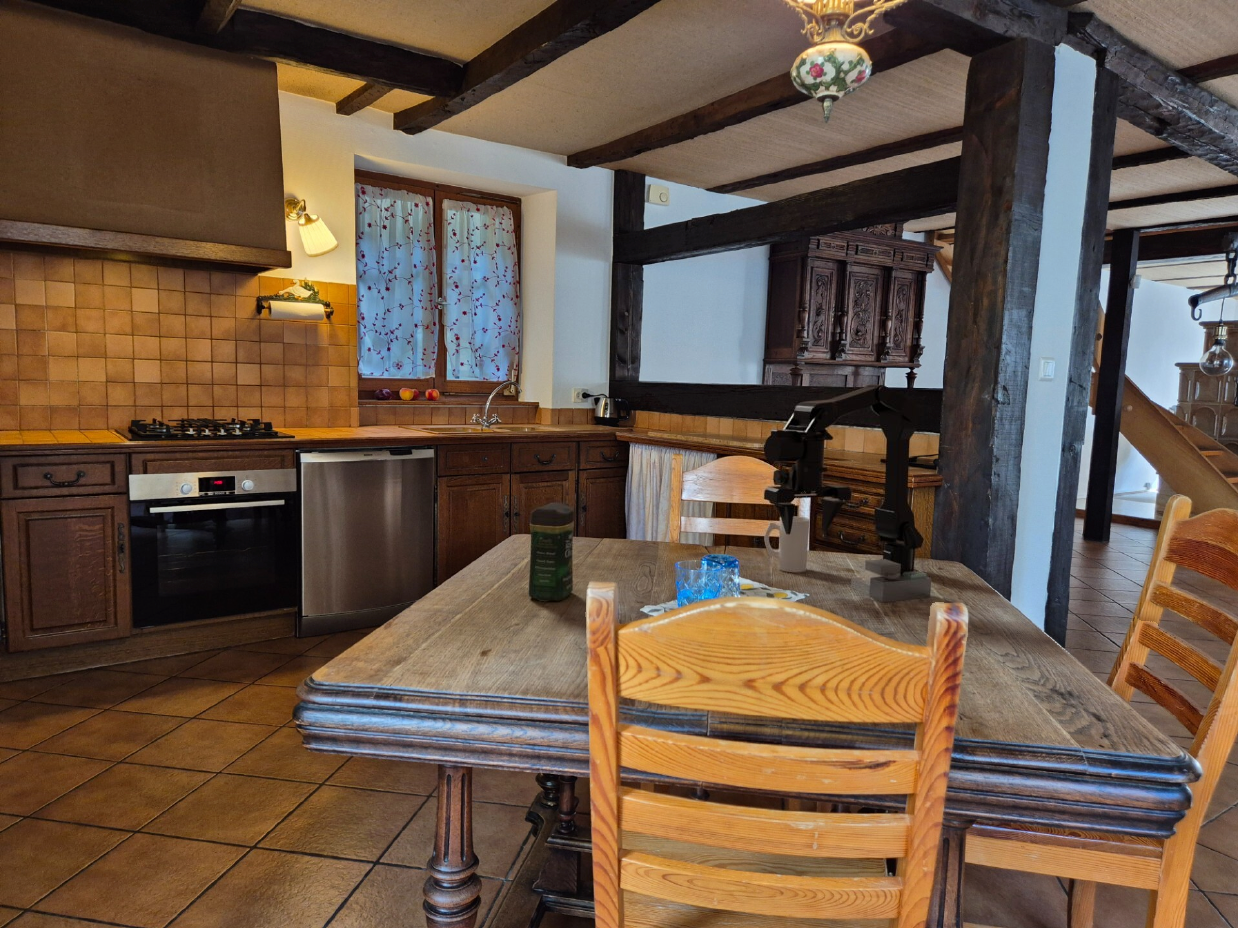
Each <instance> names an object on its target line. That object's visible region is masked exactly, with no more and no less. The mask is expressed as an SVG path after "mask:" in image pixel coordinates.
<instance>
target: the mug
mask: <svg viewBox="0 0 1238 928" xmlns="http://www.w3.org/2000/svg"><path fill="white" fill-rule="evenodd" d="M810 520H811V519H810V518H808V517H805V516H804V517H803V516H795V515H794V516H793V523H792V529H791V533H790V534H789V535H788V534H786V532H785V529H784V526H783V523H782V519H781V516H779V523H776V522H775V521H774V522H772V521H769V524H768V526H767V528H766V530H765V534H764V537H763V538H764V544H765V545H764V546H765V547H766V551H767V553H768V555H769V557H775V558H778V570H780V571H783V572H785V573H786V572H787V573H795V574H797V573H804V572H806V571H807V563H808V546H809V535H810V534H809V533H810ZM774 530H778V531H779V537H778V538H779V539H778V542H779V543H778V544H779V545H778V546H779V547H778V549H777V550H775V549H774V548H772V546H771V543H770V534H771V533H772V531H774Z"/></svg>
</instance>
